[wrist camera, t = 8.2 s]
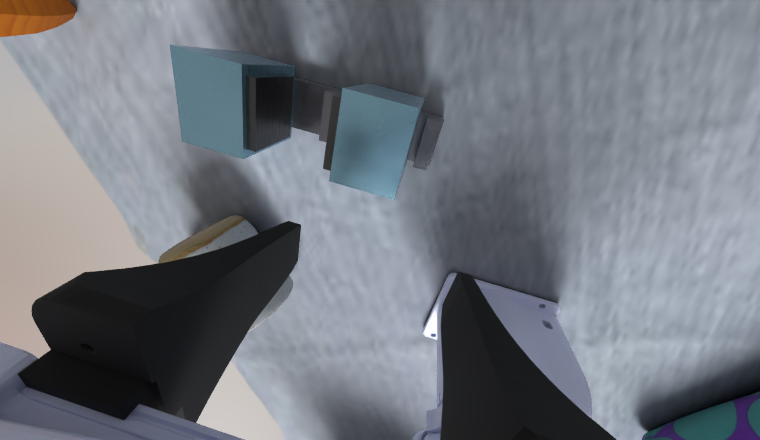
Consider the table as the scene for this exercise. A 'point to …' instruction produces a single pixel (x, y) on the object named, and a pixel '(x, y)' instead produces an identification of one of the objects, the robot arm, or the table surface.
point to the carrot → (33, 15)
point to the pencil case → (715, 423)
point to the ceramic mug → (218, 238)
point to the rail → (260, 104)
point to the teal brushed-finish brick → (371, 137)
